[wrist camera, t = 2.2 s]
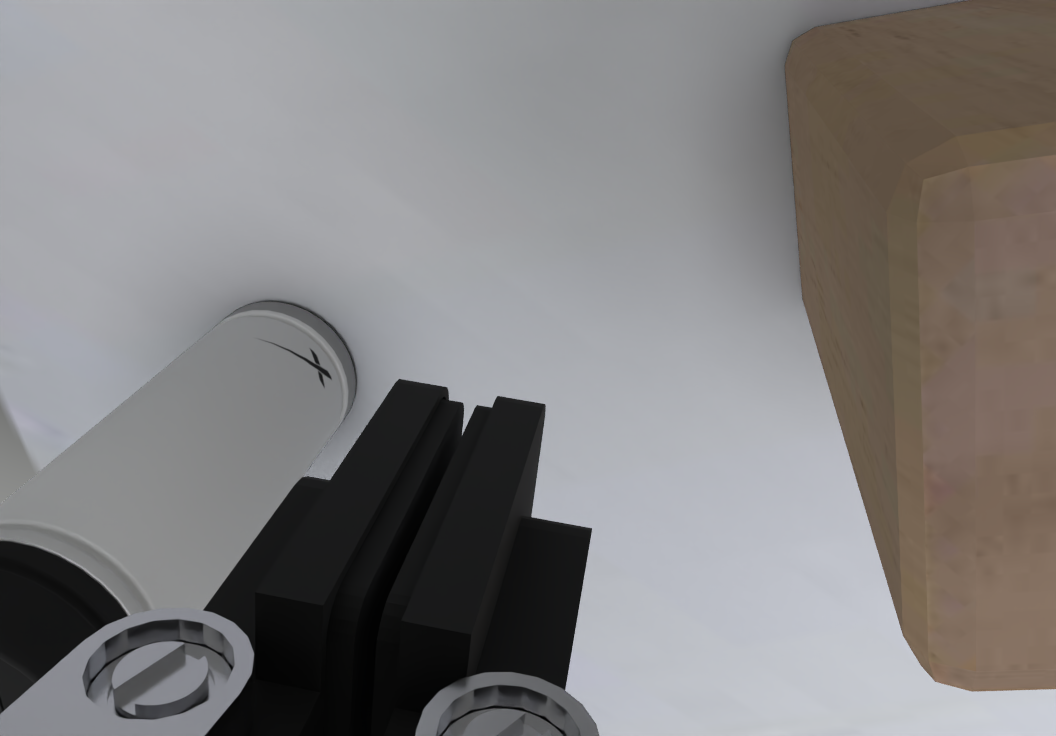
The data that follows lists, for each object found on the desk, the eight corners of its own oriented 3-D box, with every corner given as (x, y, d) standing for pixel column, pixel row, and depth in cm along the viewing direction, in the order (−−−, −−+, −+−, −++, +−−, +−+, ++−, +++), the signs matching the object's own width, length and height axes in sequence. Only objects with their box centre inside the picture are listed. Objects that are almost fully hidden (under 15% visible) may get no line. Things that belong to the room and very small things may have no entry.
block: (1102, 281, 33) (1596, 701, 15) (801, 315, 35) (916, 717, 17) (1118, -29, 29) (1804, 32, 11) (779, 29, 31) (896, 161, 13)
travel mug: (355, 299, 38) (46, 637, 20) (359, 446, 40) (91, 861, 22) (204, 283, 38) (-229, 594, 20) (218, 429, 41) (-151, 816, 23)
